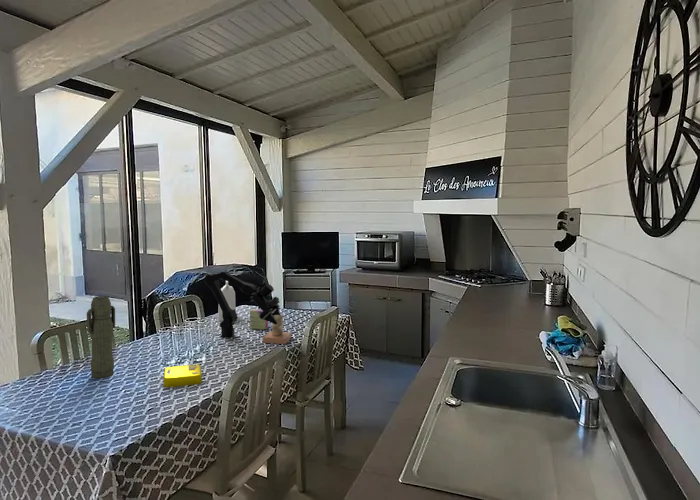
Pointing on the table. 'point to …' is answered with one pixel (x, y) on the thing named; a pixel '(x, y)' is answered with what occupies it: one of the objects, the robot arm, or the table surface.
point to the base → (277, 338)
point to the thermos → (101, 336)
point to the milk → (227, 299)
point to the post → (277, 326)
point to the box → (257, 320)
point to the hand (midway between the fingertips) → (279, 322)
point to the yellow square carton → (182, 375)
